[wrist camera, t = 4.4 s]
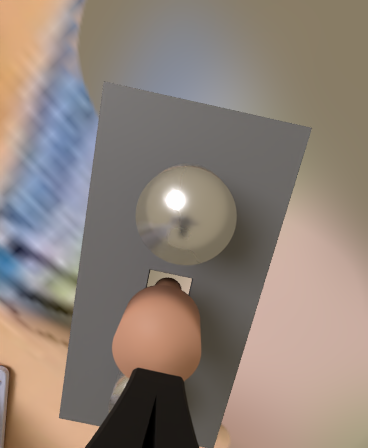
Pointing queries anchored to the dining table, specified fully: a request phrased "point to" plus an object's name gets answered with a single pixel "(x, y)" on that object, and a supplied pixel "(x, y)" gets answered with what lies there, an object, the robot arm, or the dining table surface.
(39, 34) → the dining table surface
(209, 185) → the near knob
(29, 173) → the dining table surface
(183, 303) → the middle knob
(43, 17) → the dining table surface
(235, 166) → the knob panel
